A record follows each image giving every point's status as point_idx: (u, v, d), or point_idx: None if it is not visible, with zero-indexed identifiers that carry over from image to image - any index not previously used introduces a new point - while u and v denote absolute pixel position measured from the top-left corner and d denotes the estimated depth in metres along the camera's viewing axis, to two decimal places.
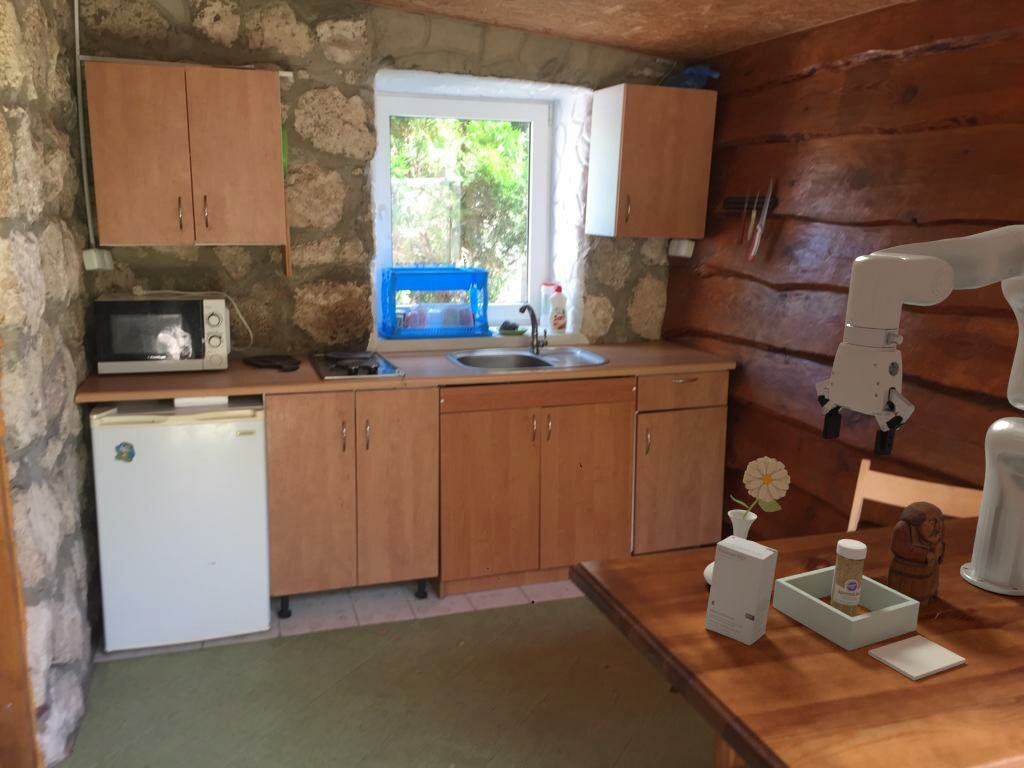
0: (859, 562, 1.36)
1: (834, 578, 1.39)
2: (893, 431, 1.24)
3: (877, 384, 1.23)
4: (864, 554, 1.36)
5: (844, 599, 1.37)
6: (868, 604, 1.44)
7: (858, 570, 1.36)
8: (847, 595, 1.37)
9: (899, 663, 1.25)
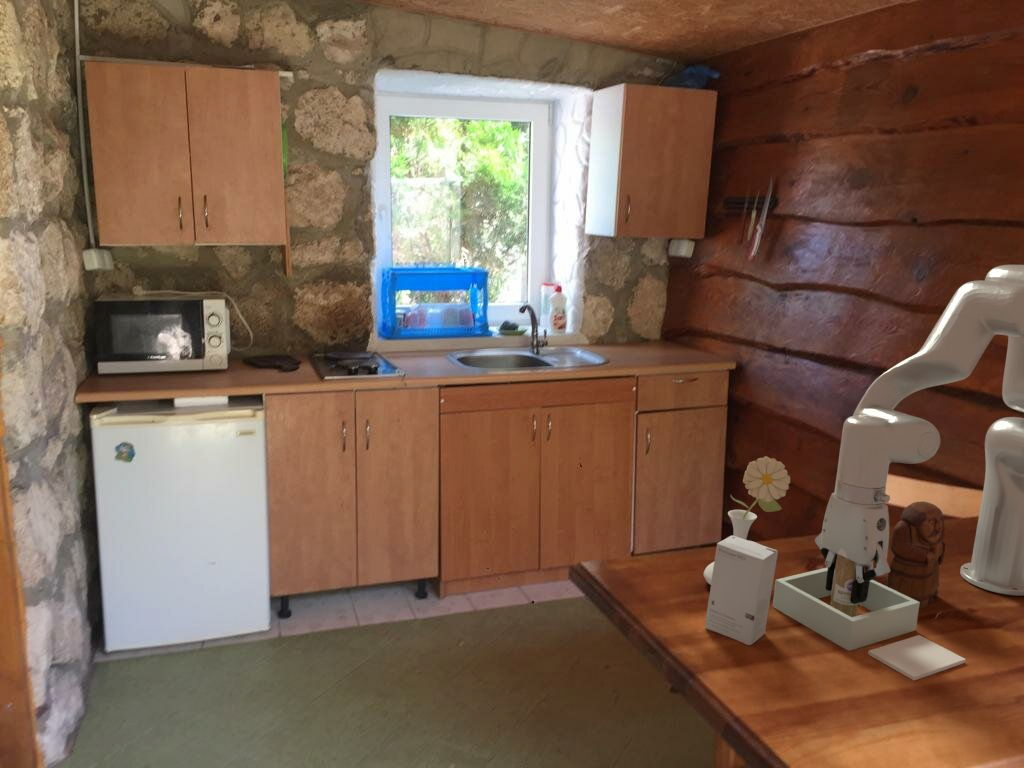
0: None
1: (834, 578, 1.39)
2: (868, 582, 1.36)
3: (866, 538, 1.32)
4: None
5: (844, 599, 1.37)
6: (868, 604, 1.44)
7: None
8: (847, 595, 1.37)
9: (899, 663, 1.25)
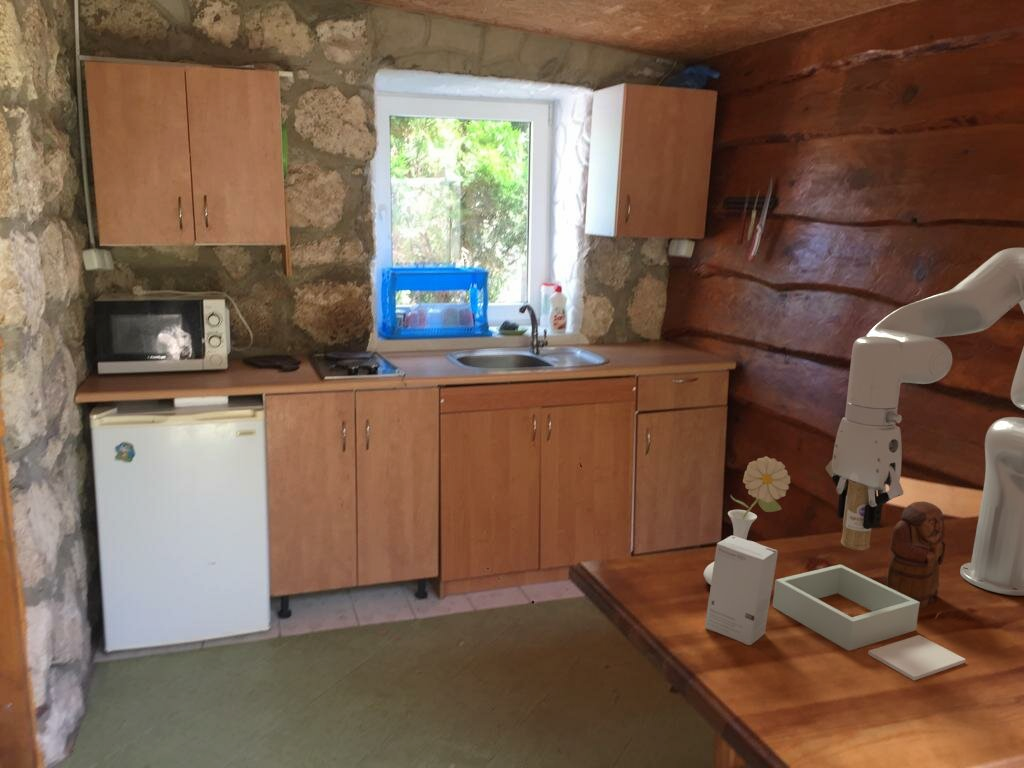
0: None
1: (846, 504, 1.36)
2: (881, 506, 1.33)
3: (878, 460, 1.30)
4: None
5: (857, 524, 1.35)
6: (868, 604, 1.44)
7: None
8: (859, 520, 1.35)
9: (899, 663, 1.25)
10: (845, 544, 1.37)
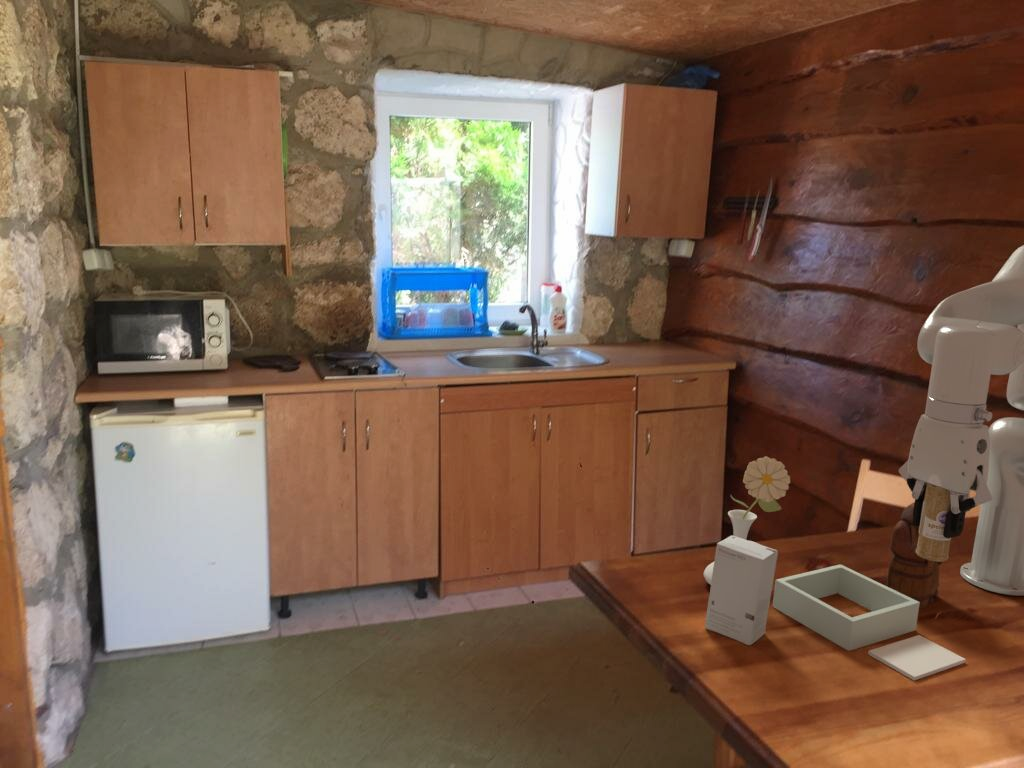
0: None
1: (923, 511, 1.23)
2: (964, 513, 1.20)
3: (964, 462, 1.17)
4: None
5: (936, 533, 1.22)
6: (868, 604, 1.44)
7: None
8: (939, 528, 1.22)
9: (899, 663, 1.25)
10: (921, 554, 1.24)
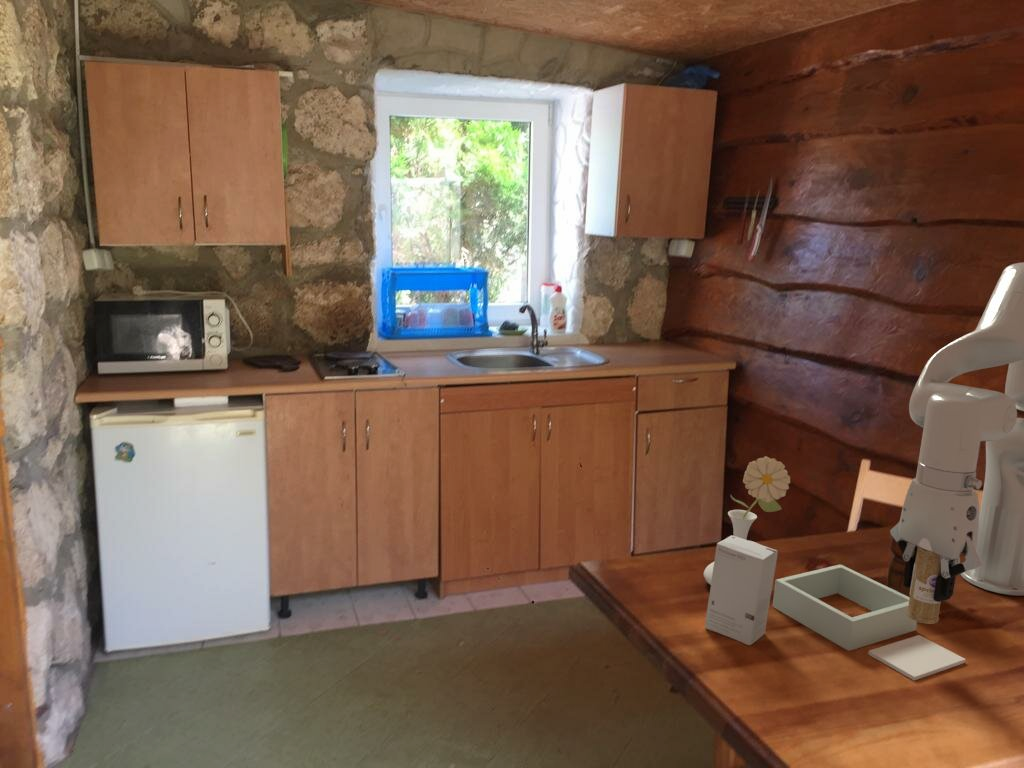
0: None
1: (914, 573, 1.25)
2: (954, 577, 1.22)
3: (954, 529, 1.19)
4: None
5: (926, 596, 1.24)
6: (868, 604, 1.44)
7: None
8: (929, 592, 1.24)
9: (899, 663, 1.25)
10: (912, 616, 1.26)
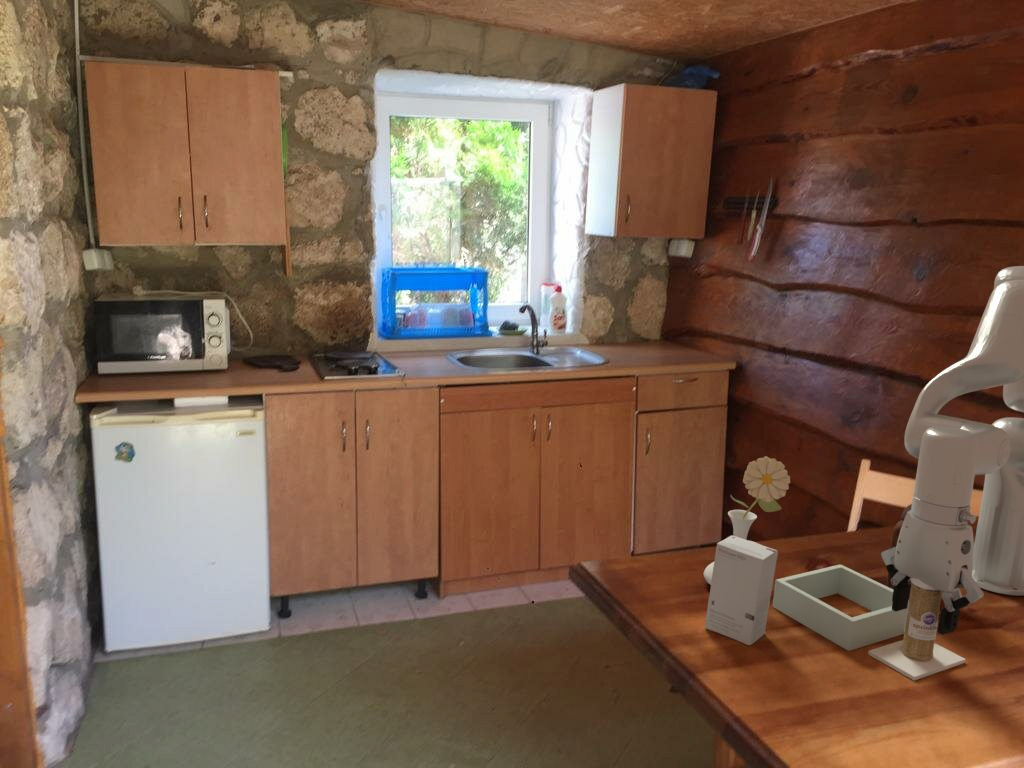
0: (937, 593, 1.24)
1: (908, 610, 1.27)
2: (958, 610, 1.22)
3: (949, 562, 1.20)
4: None
5: (921, 633, 1.25)
6: (868, 604, 1.44)
7: (936, 602, 1.24)
8: (923, 629, 1.25)
9: (899, 663, 1.25)
10: (907, 653, 1.27)
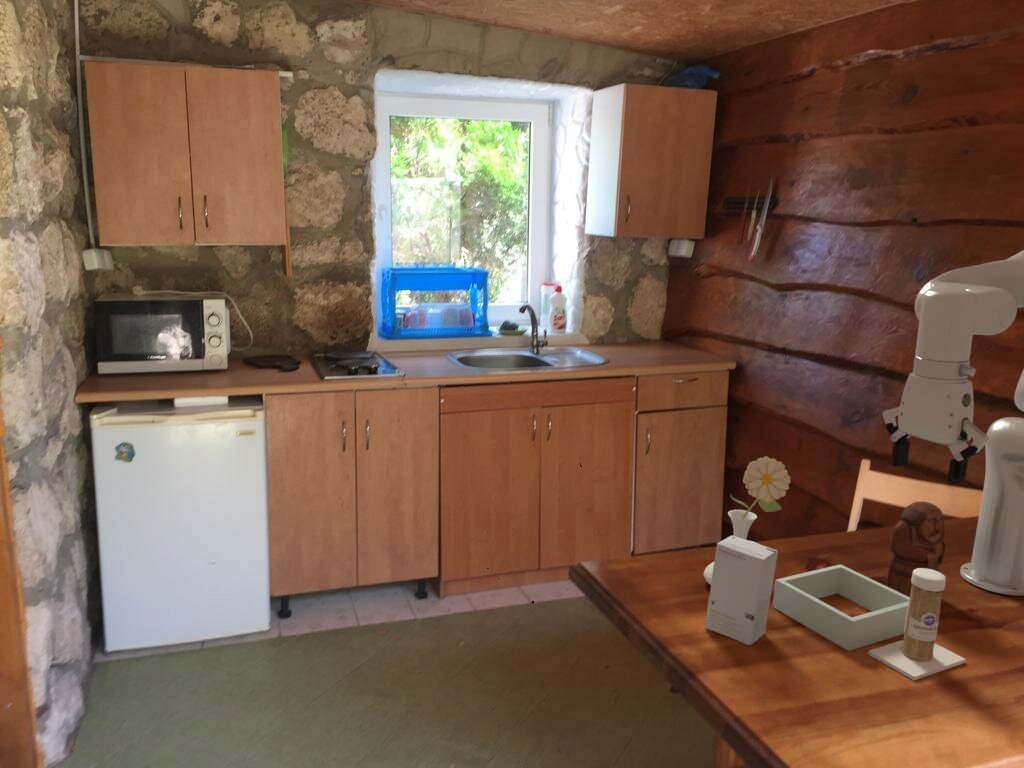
0: (938, 594, 1.24)
1: (909, 611, 1.27)
2: (966, 460, 1.27)
3: (950, 415, 1.26)
4: (943, 585, 1.24)
5: (921, 634, 1.25)
6: (868, 604, 1.44)
7: (936, 603, 1.24)
8: (923, 629, 1.25)
9: (899, 663, 1.25)
10: (907, 653, 1.27)
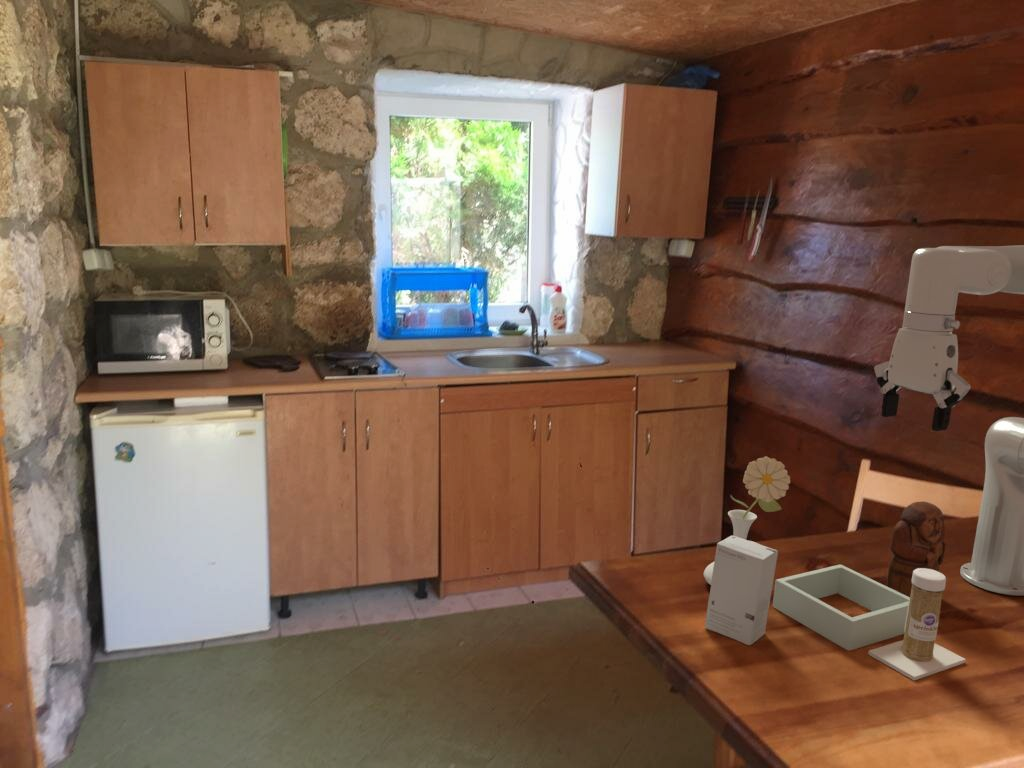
0: (938, 594, 1.24)
1: (909, 611, 1.27)
2: (950, 408, 1.36)
3: (936, 365, 1.35)
4: (943, 585, 1.24)
5: (921, 634, 1.25)
6: (868, 604, 1.44)
7: (936, 603, 1.24)
8: (924, 629, 1.25)
9: (899, 663, 1.25)
10: (907, 653, 1.27)
